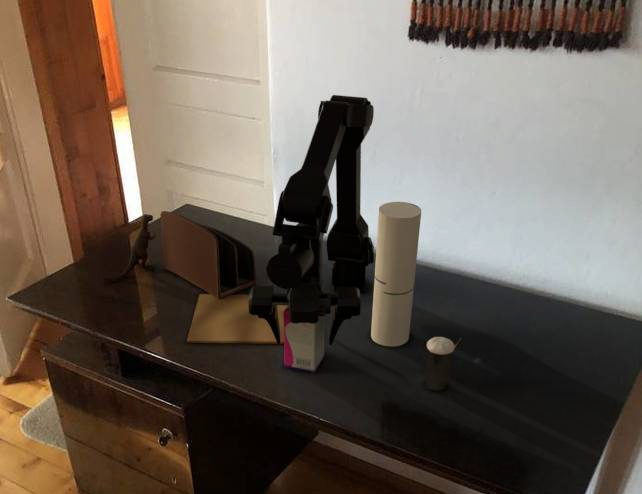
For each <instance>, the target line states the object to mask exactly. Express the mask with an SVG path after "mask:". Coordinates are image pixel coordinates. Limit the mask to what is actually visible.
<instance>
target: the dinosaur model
mask: <svg viewBox="0 0 642 494" xmlns="http://www.w3.org/2000/svg"><path fill="white" fill-rule="evenodd" d="M140 220H141V222H140V223H141V227H140V229H139V232H138V235H137V236H136V238H135V240H134V241H133V243H132V246H131V248H130V251H131V252H130V259H129V261H128V264H127V267H126V268H125V270H123V272H122V273H121V274H119V275H118V276H116V277H113V278H111V277H110V278H109V277H101V279H102V280H103V281H108V282H115V281H119V280H121V279H123V278H125V277H126V276H127V275H128V274H129V273H130V272H131V271H132V270H133V269H134V268H135V267H136V266H138V268H140V269H141V270H142V269H144V270H145V271H146V270H148V271H150V270H153V268H154V267H153V265H152V264H151V265H150V264H149V263H148V264H146V262H147V260H148V258H149V256H148V254H149V253H148V247H149V241H153V240H154V239H155V237H156V236H157V233H154V234H153V236H151V232H150V231H149V230H148V228H149V227H148V225H149V223H150V222H152V221H154V216H153V214H147V213H144V214H142V216H141V219H140ZM140 260H141V263H140Z"/></svg>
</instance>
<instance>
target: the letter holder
mask: <svg viewBox="0 0 642 494" xmlns="http://www.w3.org/2000/svg"><path fill="white" fill-rule="evenodd" d="M160 227H161V241H162V243H161V244H162V254H163V266H164V269H165V270H167V271H169V272H171V273H173V274H174V275H176V276H179V277H180V278H181V279H184V280H185V281H187V282H189V283H190V284H192V285H194V286H196V287H197V288H199V289H201V290H203V291H205V292H206V293H207V294H211V295H213V296H215V297H217V298H218V299H221V298H223V297H225V296H228V295H230V294H231V295H234V294H235V293H239V292H240V291H243V290H245V289H248V288H252V287H253V286H256V285H257V274H256V261H255V252H254V251H253V249H252V248H250V246H248V245H247V244H245V243H244V242H242V241H240V240H239V239H237V238H235V237H233V236H232V235H231V234H228V233H226V232H223V230H220V229H217V228H215V227H212V226H210V225H205V224H201V223H199V222H196V221H195V220H192V219H191V218H188V217H186V216H184V215H181V214H178V213H175V212H171V211H167V210H162V211H161V212H160Z"/></svg>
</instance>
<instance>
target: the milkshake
mask: <svg viewBox="0 0 642 494" xmlns="http://www.w3.org/2000/svg"><path fill="white" fill-rule="evenodd" d="M461 340H462V337H459V339H458V340H457V342H456V344H455V343H454V342H453V341H452V340H451V339H449V338H447V337H445V336H434V337H432V338H430V339H429V340H427V342H426V362H425V363H426V365H425V385H426V388H427V389H429V390H430V391H436V392H439V391H442V390H444V389H445V387H446V386H447V380H448V376H449V371H450V368H451V363H452V359H453V355H454V352H455V348H456V347H457V345H458V344H459V342H460V341H461Z"/></svg>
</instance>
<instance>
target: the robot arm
mask: <svg viewBox="0 0 642 494" xmlns="http://www.w3.org/2000/svg"><path fill="white" fill-rule="evenodd" d="M319 103H320V104H319V107H318V112H317V122H316V124H315V128H314V131H313V134H312V137H311V140H310V143H309V146H308V149H307V151H306V154H305V156H304V160H303V163H302V166H301V167H300V169H299V170H297V171H296V172H294V173H293V174H292V175H290V176H289V178H288V181H287V183H286V185H285V187H284V189H283V190H282V191H281V192H280V194H279V199H278V203H277V209H276V213H275V218H274V219H275V220H274V224H273V229H272V236H275V237H281V242H280V244H279V245H278V247H277V249H276V251H275V252H274V254H273V255H271V257H270V258H269V260H268V261H267V264H266V267H265V270H266V275H267V278H268V279H269V281H270V282H271V283H272V284H273V285H253V286H251V287H250V290H249V294H248V295H249V314H251V315H257V316H258V318H263V319H265V320H266V321H267V322H268V324H269V325H270V327H271V329H272V332H273V334H274V336H275V339H276V341H277V343H278V344H277V345H281V344H280V326H279V318H278V311H277V305H289V320H290V322H291V323H294V324H298V323H310V324H315V323H317V322H318V321H319V316H324V317H326V315H331V314H332V315H331V321H330V328H329V336H328V337H329V339H328V340H329V341H328V343H329V344H328V345H329V346H332V345H333V344H334V343H333V342H334V340H335V338H336V336H337V333H338V331H339V329H340V327H341V326H342V324H343V323H344V321H347V320H351V319H352V318H353V317H358V316H360V315H361V309H362V308H361V307H362V306H361V305H362V302H361V294H365V293H366V272H367V267H369V265H371V264H374V263H375V251H374V250H375V246H374V243H373V241H372V238H371V237H370V234H369V233H370V232H369V224H368V223H367V221H366V220H365V218H364V217H363V216H362V213H361V198H362V197H361V191H362V190H361V189H362V188H361V187H362V186H361V185H362V184H361V183H362V177H361V176H362V172H361V171H362V144H363V142H364V141H365V138H366V137H367V135H368V133H369V132H370V130H371V127H372V124H373V121H374V113H375V110H374V105H373V104H372V103H371V101H370V100H369V99H368V97H361V96H352V95H350V96H349V95H340V94H339V95H338V94H333V95H331V96H330V98H329V100H320V102H319ZM334 166H335V185H336V186H335V187H336V190H335V191H336V193H335V194H336V219H335V221H334V222H333V224H332V226H331V228H330V230H329V227H330V222H331V218H332V215H333V210H334V203H333V202H332V197H331V191H330V186H329V181H330V179H331V175H332V173H333V169H334ZM285 221H286V222H288V224H287V223H284V222H285ZM289 223H294V224H289ZM295 223H297V224H295ZM325 234H327V238H326V253H327V261H328V262H332V264H331V286H332V287H333V291H334V293H331V292H324V290H323V248H324V247H323V243H324V240H323V239H324V235H325ZM274 286H276V287H278V288H279V289H283V290H286V293H274V291H275V289H274ZM332 307H333V308H332ZM331 309H332V313H331Z"/></svg>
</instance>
